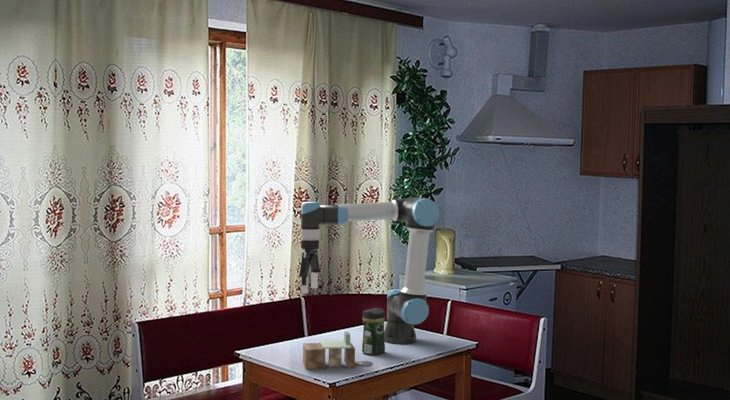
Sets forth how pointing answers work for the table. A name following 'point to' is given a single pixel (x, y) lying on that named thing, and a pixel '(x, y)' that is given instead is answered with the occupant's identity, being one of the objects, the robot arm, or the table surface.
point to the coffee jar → (373, 331)
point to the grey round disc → (363, 363)
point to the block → (335, 357)
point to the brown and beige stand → (316, 356)
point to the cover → (337, 342)
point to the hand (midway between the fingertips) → (309, 290)
